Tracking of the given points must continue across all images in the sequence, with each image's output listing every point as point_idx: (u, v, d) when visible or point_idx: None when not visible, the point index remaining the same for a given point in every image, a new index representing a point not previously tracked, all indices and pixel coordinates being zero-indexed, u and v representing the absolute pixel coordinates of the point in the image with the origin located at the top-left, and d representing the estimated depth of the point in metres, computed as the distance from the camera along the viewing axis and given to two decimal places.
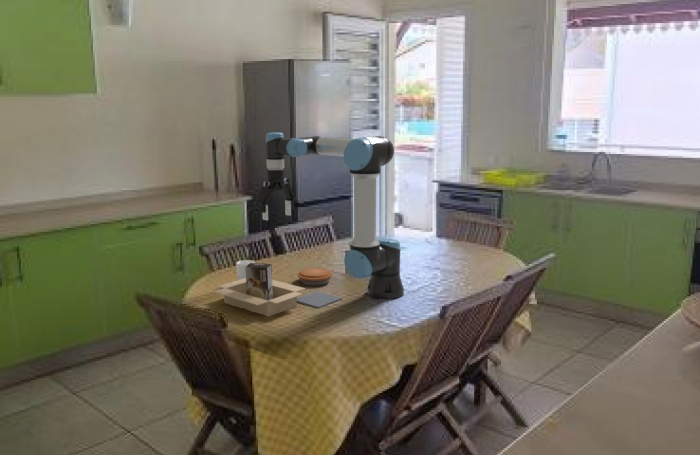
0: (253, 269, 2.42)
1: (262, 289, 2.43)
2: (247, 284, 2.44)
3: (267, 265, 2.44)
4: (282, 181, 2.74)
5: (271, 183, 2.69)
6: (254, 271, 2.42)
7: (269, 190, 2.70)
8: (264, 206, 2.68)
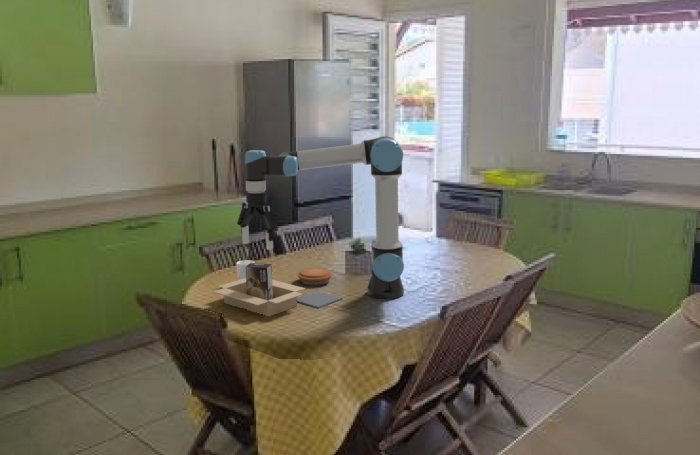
0: (253, 269, 2.42)
1: (262, 289, 2.43)
2: (247, 284, 2.44)
3: (267, 265, 2.44)
4: (259, 207, 2.37)
5: (248, 205, 2.41)
6: (254, 271, 2.42)
7: None
8: None
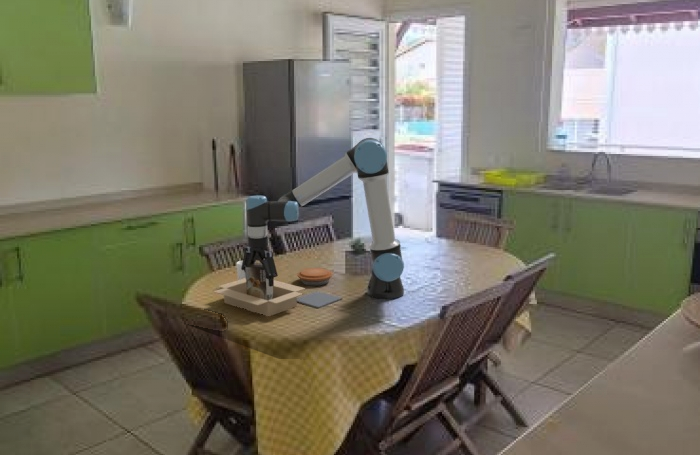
0: (253, 268, 2.42)
1: (262, 289, 2.43)
2: (247, 284, 2.44)
3: None
4: (261, 252, 2.41)
5: (250, 250, 2.45)
6: (254, 271, 2.42)
7: None
8: None
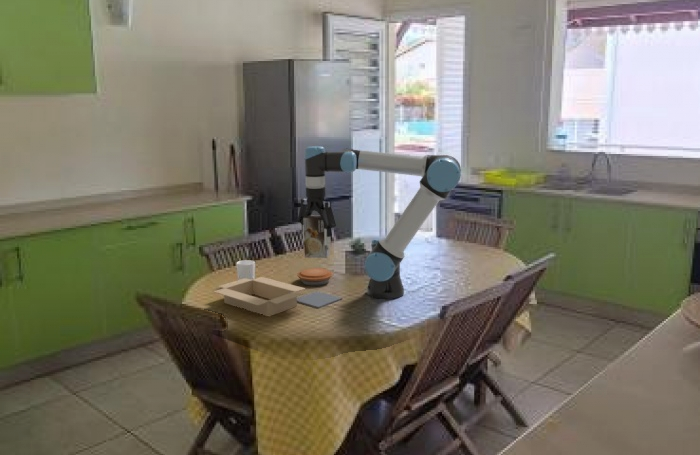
0: (311, 219, 2.43)
1: (320, 239, 2.44)
2: (305, 235, 2.45)
3: None
4: (319, 202, 2.42)
5: (307, 201, 2.46)
6: (312, 221, 2.43)
7: None
8: (302, 225, 2.50)
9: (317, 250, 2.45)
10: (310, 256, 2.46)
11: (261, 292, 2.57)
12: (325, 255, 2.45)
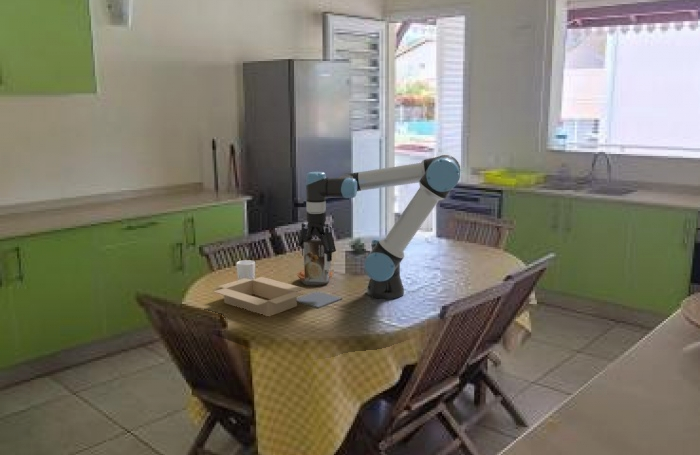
0: (311, 244, 2.45)
1: (320, 264, 2.46)
2: (305, 259, 2.47)
3: None
4: (319, 227, 2.44)
5: (307, 225, 2.48)
6: (312, 246, 2.45)
7: None
8: (303, 249, 2.52)
9: (317, 275, 2.47)
10: (310, 280, 2.48)
11: (261, 292, 2.57)
12: (325, 279, 2.47)
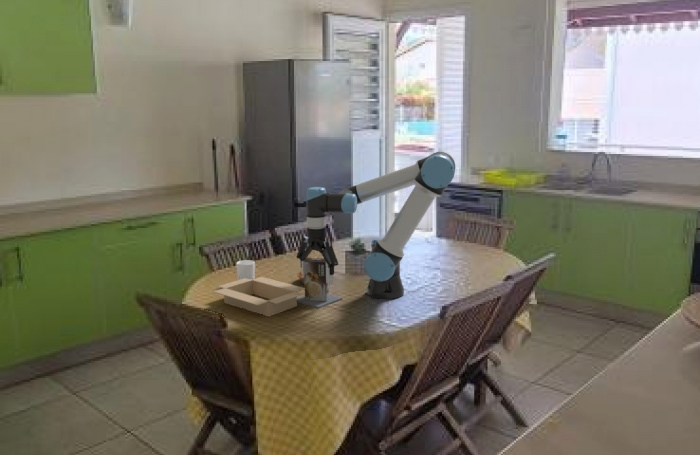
0: (311, 263, 2.47)
1: (320, 283, 2.48)
2: (305, 278, 2.49)
3: None
4: (320, 242, 2.45)
5: (308, 240, 2.49)
6: (312, 265, 2.47)
7: None
8: (301, 261, 2.54)
9: (317, 294, 2.49)
10: (310, 299, 2.50)
11: (261, 292, 2.57)
12: (325, 298, 2.49)
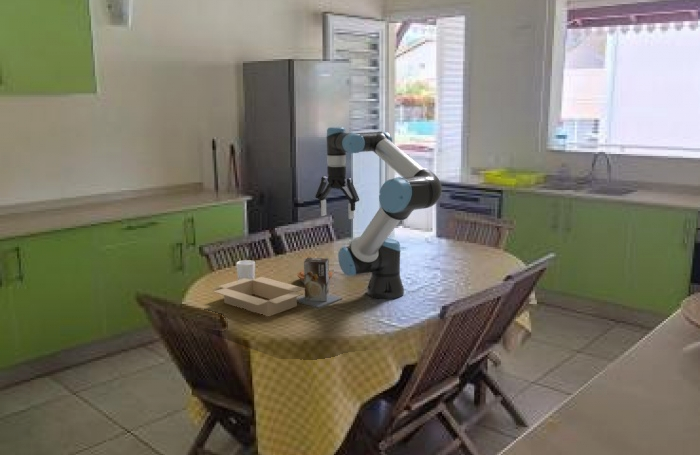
0: (311, 263, 2.47)
1: (320, 283, 2.48)
2: (305, 278, 2.49)
3: (325, 260, 2.49)
4: (341, 180, 2.55)
5: (328, 179, 2.59)
6: (312, 265, 2.47)
7: None
8: (320, 201, 2.63)
9: (317, 294, 2.49)
10: (310, 299, 2.50)
11: (261, 292, 2.57)
12: (325, 298, 2.49)
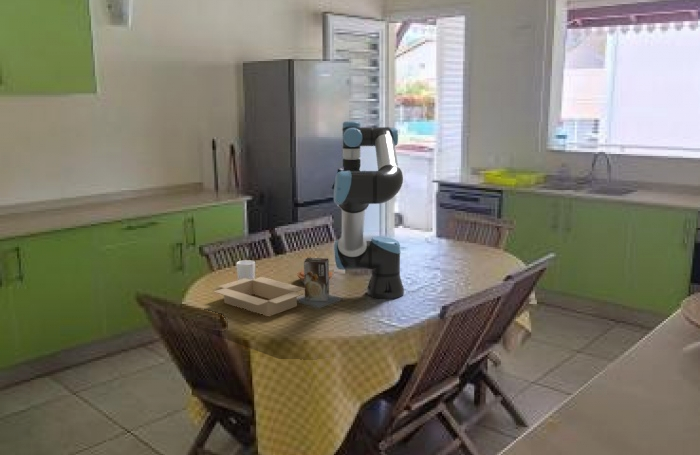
0: (311, 263, 2.47)
1: (320, 283, 2.48)
2: (305, 278, 2.49)
3: (325, 260, 2.49)
4: None
5: None
6: (312, 265, 2.47)
7: None
8: None
9: (317, 294, 2.49)
10: (310, 299, 2.50)
11: (261, 292, 2.57)
12: (325, 298, 2.49)
